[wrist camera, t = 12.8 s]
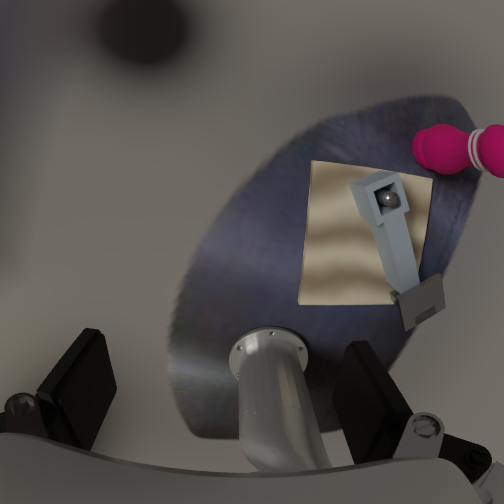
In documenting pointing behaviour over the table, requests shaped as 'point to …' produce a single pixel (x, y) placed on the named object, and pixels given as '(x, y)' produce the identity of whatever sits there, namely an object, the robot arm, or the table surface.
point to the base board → (351, 238)
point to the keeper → (419, 301)
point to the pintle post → (386, 197)
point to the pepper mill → (460, 149)
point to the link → (388, 227)
